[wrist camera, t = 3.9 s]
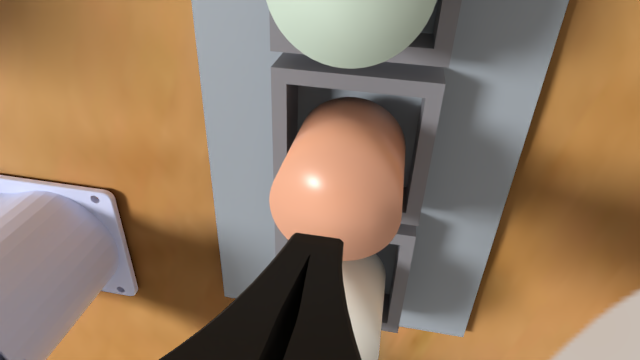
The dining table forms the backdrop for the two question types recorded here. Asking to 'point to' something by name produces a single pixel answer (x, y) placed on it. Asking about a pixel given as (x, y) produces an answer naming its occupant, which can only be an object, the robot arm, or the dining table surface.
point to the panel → (417, 126)
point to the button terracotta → (343, 177)
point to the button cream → (365, 302)
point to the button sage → (351, 28)
